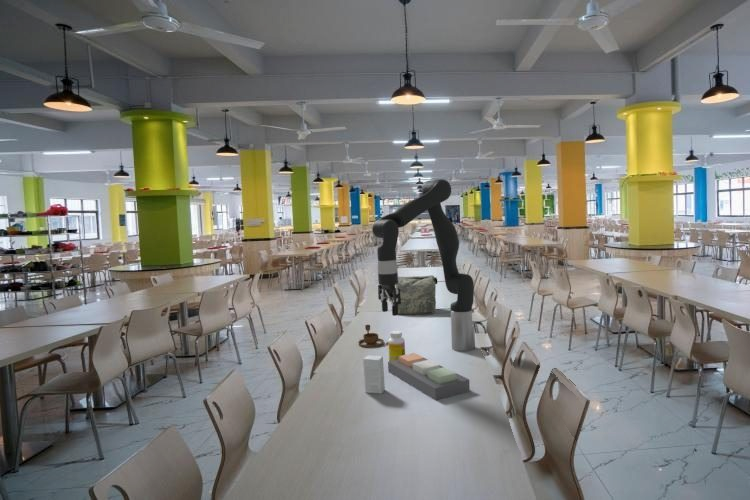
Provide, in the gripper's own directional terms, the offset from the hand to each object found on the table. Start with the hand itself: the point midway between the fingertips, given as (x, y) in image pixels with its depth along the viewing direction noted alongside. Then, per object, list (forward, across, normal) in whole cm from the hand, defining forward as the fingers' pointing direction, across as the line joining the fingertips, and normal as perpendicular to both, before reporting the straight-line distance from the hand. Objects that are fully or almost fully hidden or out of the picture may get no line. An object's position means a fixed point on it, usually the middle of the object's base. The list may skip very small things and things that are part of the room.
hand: (390, 313), depth 180 cm
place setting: (+24, +40, -11) cm, 48 cm away
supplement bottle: (+23, +7, -5) cm, 25 cm away
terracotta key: (+20, -6, -5) cm, 21 cm away
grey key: (+19, -16, -5) cm, 26 cm away
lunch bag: (+24, +82, -60) cm, 104 cm away
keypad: (+23, -16, -5) cm, 28 cm away
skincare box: (+23, -15, +15) cm, 31 cm away
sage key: (+19, -26, -5) cm, 33 cm away
